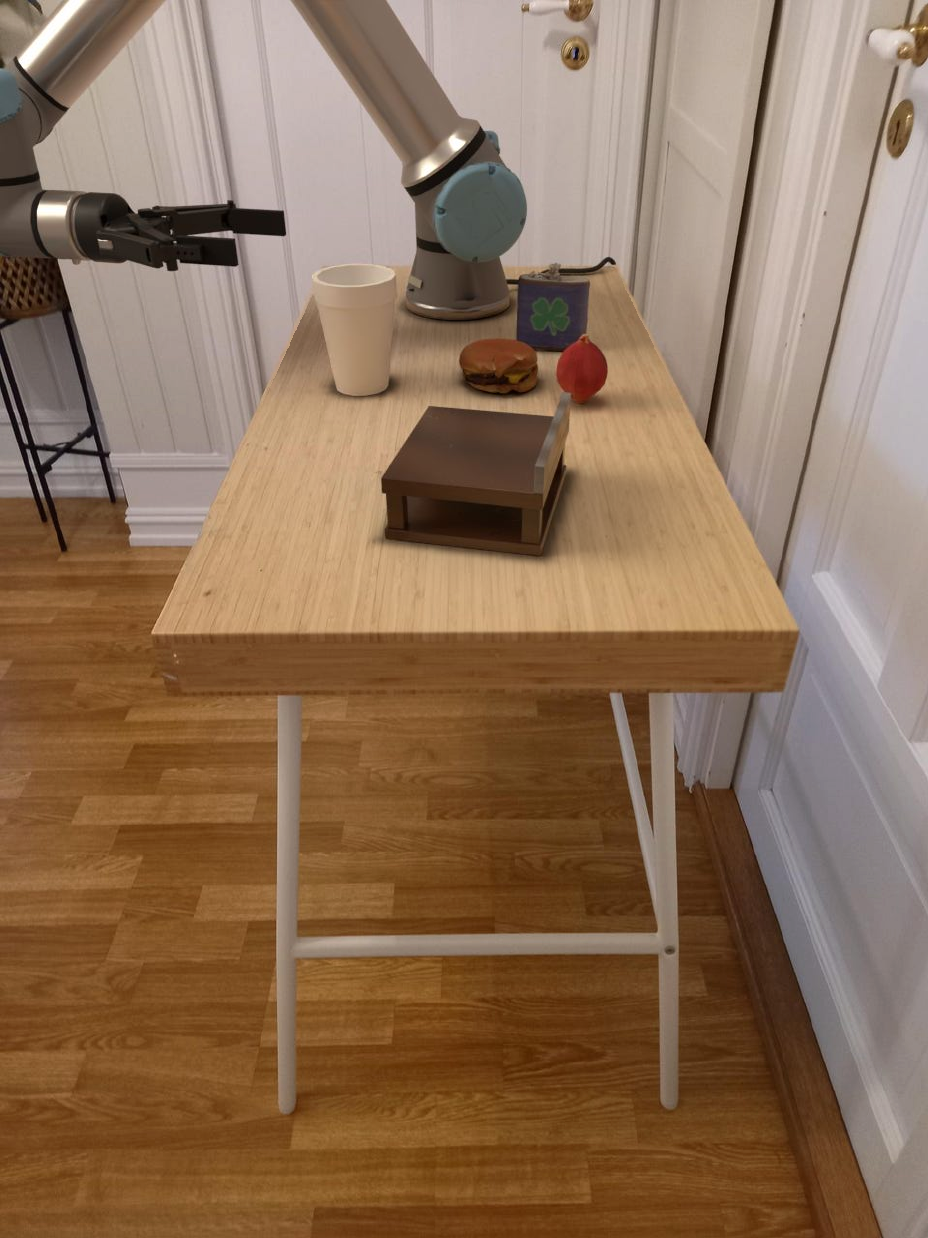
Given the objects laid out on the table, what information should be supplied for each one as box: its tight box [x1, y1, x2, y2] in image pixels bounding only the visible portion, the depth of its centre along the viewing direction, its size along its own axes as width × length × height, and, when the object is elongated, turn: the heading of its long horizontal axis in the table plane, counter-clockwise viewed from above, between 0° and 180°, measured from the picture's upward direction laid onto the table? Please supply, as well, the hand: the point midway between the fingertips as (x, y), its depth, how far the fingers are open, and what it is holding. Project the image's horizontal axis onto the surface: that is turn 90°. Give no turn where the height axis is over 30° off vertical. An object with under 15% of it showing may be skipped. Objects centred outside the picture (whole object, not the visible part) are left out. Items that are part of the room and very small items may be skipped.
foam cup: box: [311, 263, 398, 397], centre depth 109 cm, size 10×9×13 cm
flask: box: [515, 262, 591, 352], centre depth 120 cm, size 9×3×11 cm, turn 77°
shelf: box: [380, 391, 572, 557], centre depth 86 cm, size 16×14×8 cm
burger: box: [458, 337, 539, 395], centre depth 112 cm, size 10×9×5 cm
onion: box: [555, 333, 609, 404], centre depth 105 cm, size 6×6×8 cm
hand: (261, 237), depth 105 cm, fingers open, 13 cm apart
